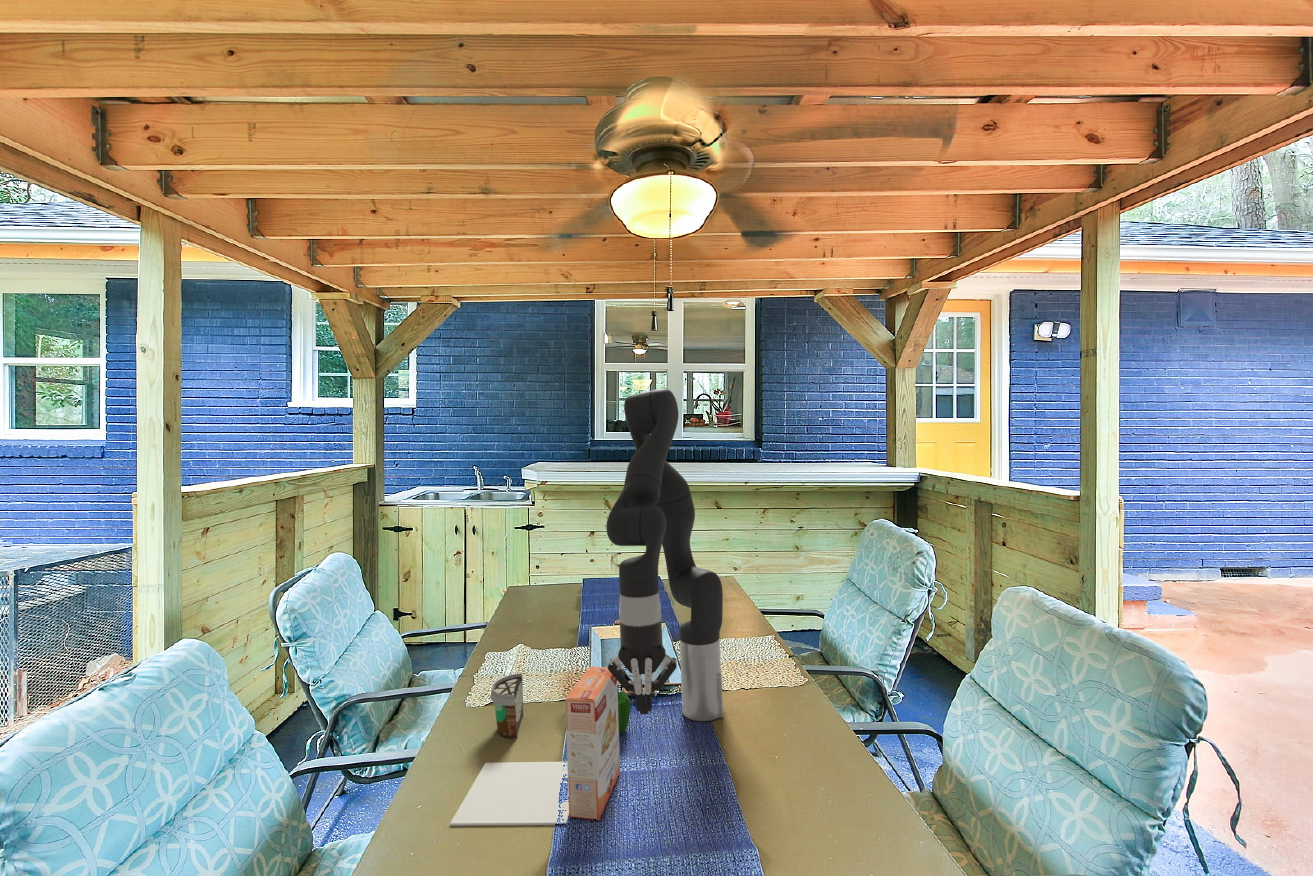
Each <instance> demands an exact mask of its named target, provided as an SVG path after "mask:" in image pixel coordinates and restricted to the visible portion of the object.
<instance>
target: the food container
mask: <svg viewBox="0 0 1313 876" xmlns="http://www.w3.org/2000/svg"><path fill="white" fill-rule="evenodd" d="M523 681H524V679H523V673H522V672H521V673H514V674H513V673H512V674H509V675H507V676H504V677H502V678H500V679H498V680H497V681H495V682H494V684H493V685H492V687H491V691H490V700H491V702H493V703H494V711H495V719H496V720H495V721H496V728H497V733H498V735H499V736H500V737H502V738H504V739H508V740H509V739H510V740H511V739H512V740H515V739H519V734H520V730H521V728H522V724H523V721H524V694H523V693H524V691H523Z"/></svg>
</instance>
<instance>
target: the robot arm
mask: <svg viewBox="0 0 1313 876" xmlns="http://www.w3.org/2000/svg"><path fill="white" fill-rule="evenodd" d="M623 411H624V416H625V417H624V418H625V420H626V424H627V428H628V431H629V433H630V436H631V439H632V442H633V445H634V448H635V453H634V454H633V455H632V457H631V459H630V460H629V463H628V465H627V468H626V472H625V474H626V475H625V479H624V484H623V488H622V489H621V490H622V491H621V492H620V494H619V496H618V498H617V499H616V501H615V503H614V505H613V506H612V508H611V510H610V512H609V513H608V516H607V519H606V520H607V521H606V527H605V529H606V535H607V537H608V539H609V541H610V542H611V543H612V544H613V545H615V546H619V547H635V546H636V547H645V551H644V553H643V554H641V555H638V556H635V557H634V556H633V557H629V558H627V559H624V560H622V561H621V562H620V563H619V566H618V576H619V577H618V578H619V579H618V580H619V581H618V583H619V600H618V601H619V603H618V610H619V611H618V612H619V613H618V619H619V637H620V648H619V650H618V655H617V656H616V657H615V658H614V659H613V658H611V659H609V662H608V666H607V667H608V670H609V671H610V672H611V674H612V675H613V676H614V677H615V678H616V680H617V683H619V685H621V686H622V688H623V689H624V690H625V692H633V694H635V708H636V711H637V712H639V714H640V715H649V712H651V711H652V710H653V693H654V692H656V691H657V692H659V691H660V690H662V688H663V687H664V686H665V684H666V683H667V681H668V680H669V679H670V677H671V676H672V675H673V673H674V671H676V669H677V667H678V666H677V663H678V661H677V658H676V657H671V656H669V655H668V654H666V653H667V651H666V649H665V647H664V645H663V626H662V623H663V622H662V605H661V603H662V602H661V597H660V591H659V590H660V589H659V586H660V583H659V564H660V563H659V562H660V555H661V550H663V555H664V557H665V559H664V560H665V565H666V566H665V567H666V572H667V573H666V574H667V578H668V579H667V580H668V585H669V589H670V593H671V596H672V597H673V600H675V601H676V602H677V603H678V604H679V605H681V606H683V607H686V608H689V609H690V620H688V621H685V622H683V623H682V624H681V625H679V630H678V632H679V633H678V634H679V657H680V658H679V659H680V660H679V661H680V678H681V679H680V681H681V683H680V684H681V706H682V710H681V711H682V715H684V717H686V718H687V719H689V720H692V721H694V722H695V721H696V722H709V721H714V720H716V719H719V718H721V719H722V718H724V699H723V698H724V697H723V677H722V676H723V675H722V667H721V666H722V663H721V642H720V632H721V629H722V625H723V604H724V602H723V600H724V599H723V598H724V596H723V592H724V591H723V584H722V581H721V578H720V577H719V575H718V574H717V573H716V572H715V571H713V570H708V569H704V568H702V567H697V565H696V563H695V560H694V557H693V553H692V549H691V535H692V533H693V528H694V524H695V517H696V511H695V505H694V501H693V496H692V493H691V490H690V485H689V484H688V482H687V480H686V479H685V478H684V477H683V475H681V473H680V472H678V470H677V469H675V467H673V466H672V465H671V464H670V463H669V462H668V460H666V459H667V456H668V453H669V451H670V449H671V445H672V442H673V439H674V436H675V433H676V430H677V426H678V423H679V406H678V401H677V398H676V396H675V395H674V393H673V392H672V391H671V390H670V389H669V388H657V389H653V390H648V391H643V392H639V393H636V394H630V395H629V396H628V395H627V397H625V400H624V403H623ZM662 662H663V665H662V667H663V668H662V670H661V671H660V673H659V674H658V675H657V677H656V678H655V680H653V674H655V672H656V671H657V670H658V669H659V667H660V665H661V664H662ZM623 666H624V667H625V668H626V669H627V671H628V672H629V673H630V674H632V679H631V677H630V676H629V675H628V674H627V673H626V672H625V670H624V669H623ZM642 675H644V688H643V678H642Z"/></svg>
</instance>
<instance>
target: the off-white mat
mask: <svg viewBox="0 0 1313 876" xmlns="http://www.w3.org/2000/svg"><path fill="white" fill-rule="evenodd" d="M564 762H566V763H564ZM563 765H565V767H563ZM566 765H567V761H524V762H523V761H521V762H520V761H517V762H515V761H513V762H512V761H511V762H503V761H502V762H485V763H484V764H483V767H482V768H481V770H480V771H479V773H478V775H477V777H476V778H475V780H474V782H473V783H472V784H471V787H470V788H469V790H468V792H467V793H466V796H465V797H464V799H463V801H462V802H461V803H460V806H459V807H458V809H457V811H456V813H455V814H454V816H453V818H452V819H451V821H450V823H449V826H451V827H455V826H456V827H457V826H458V827H459V826H460V827H461V826H463V827H465V826H466V827H467V826H469V827H470V826H471V827H473V826H476V827H477V826H556V825H555V824H556V823H568V821H567V819H568V820H569V818H568V816H569V802H568V801H569V800H565V801H567V802H563V803H562V804H561V805H560V807H561V808H559V802H558V801H559V792H560V787H561V785H560V783H562V781H563V780H562V778H564V777H563V774H566V775H567V776H565V775H564V776H565V778H568V770H566V769H568V768H567V766H566ZM563 769H565V770H563ZM563 783H568V782H567V781H565V782H564V781H563ZM563 801H564V800H563ZM563 807H564V808H563ZM558 810H564V811H561V812H563V813H562V814H561V813H560V815H563V817H562V818H561V817H559V816H558V815H559V811H558ZM565 810H566V811H565ZM558 817H559V818H560V819H561V821H560V822H557V819H558ZM562 819H564V821H563V820H562ZM558 821H559V820H558Z"/></svg>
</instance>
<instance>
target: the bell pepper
mask: <svg viewBox="0 0 1313 876" xmlns="http://www.w3.org/2000/svg"><path fill="white" fill-rule="evenodd" d="M631 705H632V703H631V700H630V698H629V696H628V695H627V693H626V690H625V691H624V690H621V691H618V724H619V734H622V733H624V732H626V731H627V728H628V724H629V722H630V721H629V720H630V715H631V711H632V710H631V709H632V708H631Z"/></svg>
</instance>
